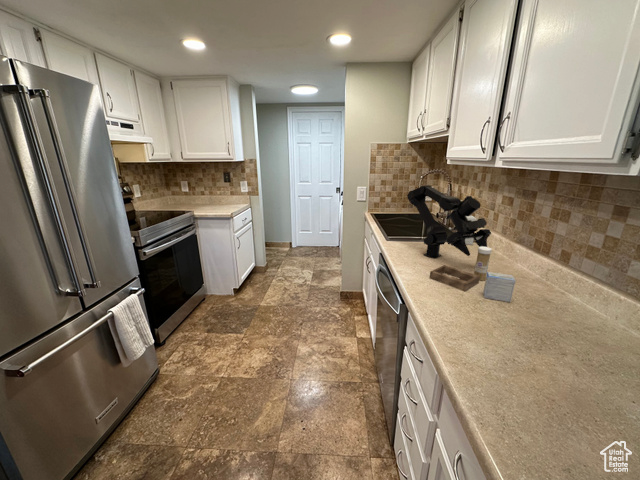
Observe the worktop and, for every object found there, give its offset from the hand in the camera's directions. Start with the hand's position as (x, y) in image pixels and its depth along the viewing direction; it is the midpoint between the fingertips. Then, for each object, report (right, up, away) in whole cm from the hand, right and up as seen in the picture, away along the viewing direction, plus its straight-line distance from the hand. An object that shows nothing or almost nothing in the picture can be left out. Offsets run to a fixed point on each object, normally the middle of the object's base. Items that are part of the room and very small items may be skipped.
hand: (478, 254), depth 108 cm
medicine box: (-2, -15, -14) cm, 20 cm away
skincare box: (+20, +4, +46) cm, 50 cm away
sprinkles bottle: (+1, -10, +1) cm, 10 cm away
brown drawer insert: (-10, -11, -1) cm, 15 cm away
